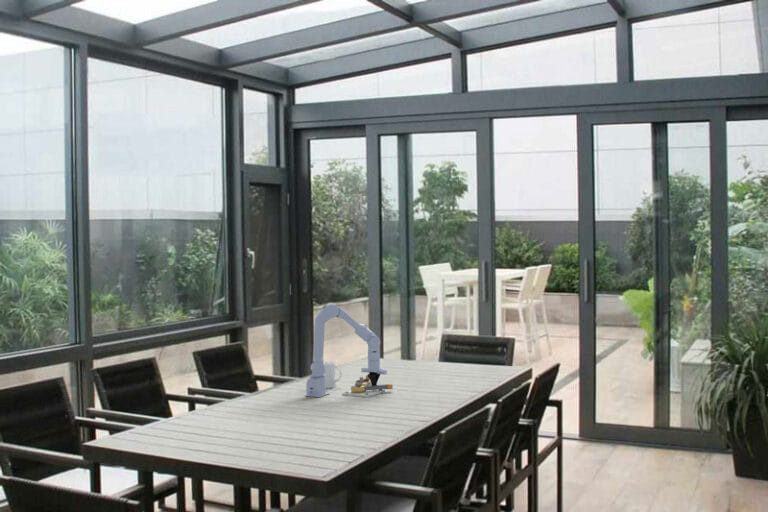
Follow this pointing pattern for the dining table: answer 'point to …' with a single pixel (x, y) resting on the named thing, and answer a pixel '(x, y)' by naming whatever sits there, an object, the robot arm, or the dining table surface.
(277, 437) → the dining table surface
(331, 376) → the mug
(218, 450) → the dining table surface
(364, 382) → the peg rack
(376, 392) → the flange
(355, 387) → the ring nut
